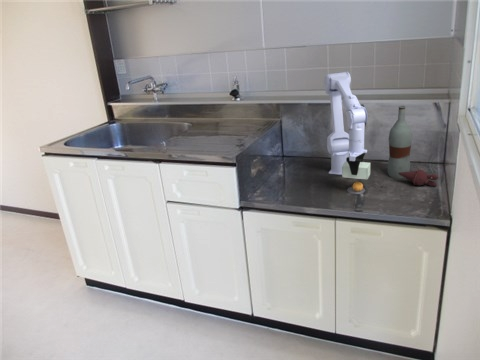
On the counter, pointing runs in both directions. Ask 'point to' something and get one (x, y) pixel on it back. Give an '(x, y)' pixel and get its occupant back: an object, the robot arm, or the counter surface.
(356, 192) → the spot
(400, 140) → the bottle
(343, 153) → the robot arm
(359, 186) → the ball
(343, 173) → the pale green block
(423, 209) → the counter surface
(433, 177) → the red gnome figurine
